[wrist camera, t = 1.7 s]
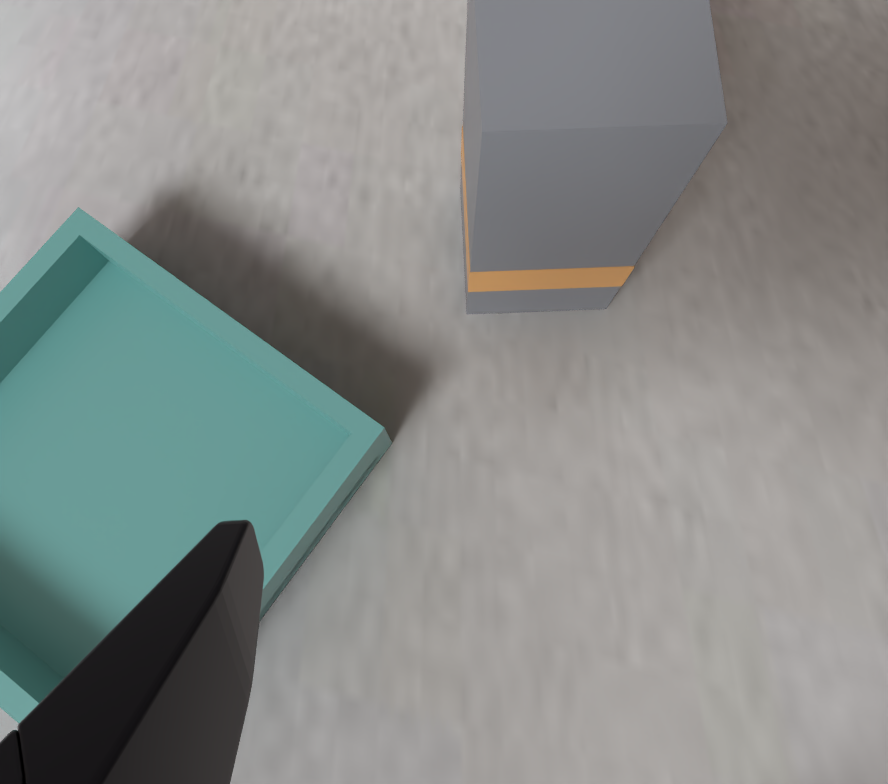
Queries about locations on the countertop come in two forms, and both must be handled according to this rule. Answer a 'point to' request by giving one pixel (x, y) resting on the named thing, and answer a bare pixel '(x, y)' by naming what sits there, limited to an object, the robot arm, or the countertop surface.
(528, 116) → the gray rectangular block
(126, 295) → the tray
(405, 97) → the countertop surface
